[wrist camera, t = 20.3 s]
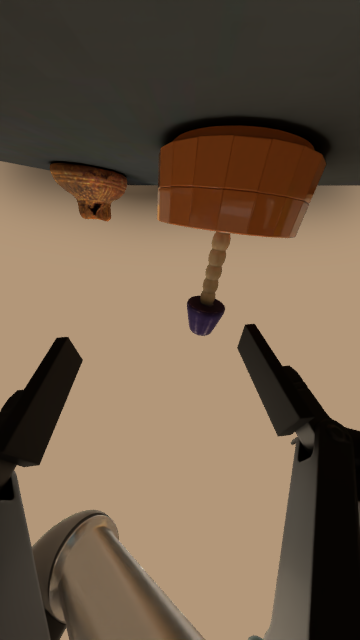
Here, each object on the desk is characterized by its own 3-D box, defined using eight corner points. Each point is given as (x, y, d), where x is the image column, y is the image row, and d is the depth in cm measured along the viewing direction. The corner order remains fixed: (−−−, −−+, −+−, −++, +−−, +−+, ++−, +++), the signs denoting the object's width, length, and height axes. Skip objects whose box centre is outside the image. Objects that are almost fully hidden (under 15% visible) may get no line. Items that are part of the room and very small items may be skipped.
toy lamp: (202, 166, 15) (182, 319, 24) (213, 152, 11) (185, 340, 20) (252, 173, 16) (215, 321, 25) (279, 162, 12) (223, 342, 21)
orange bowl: (173, 165, 19) (170, 217, 21) (135, 107, 8) (138, 222, 11) (285, 176, 18) (268, 229, 21) (391, 128, 8) (328, 245, 10)
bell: (36, 163, 27) (50, 215, 31) (70, 158, 21) (82, 224, 25) (103, 177, 35) (108, 218, 39) (141, 177, 29) (142, 225, 33)
